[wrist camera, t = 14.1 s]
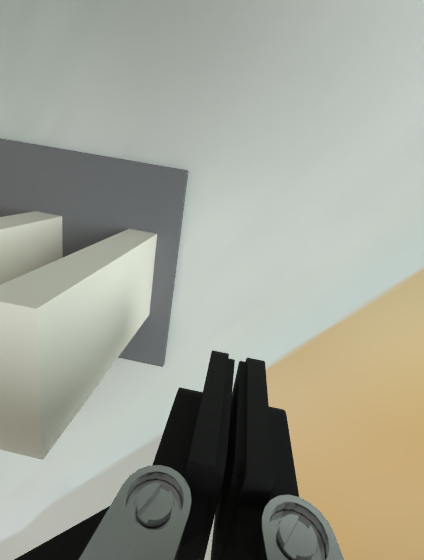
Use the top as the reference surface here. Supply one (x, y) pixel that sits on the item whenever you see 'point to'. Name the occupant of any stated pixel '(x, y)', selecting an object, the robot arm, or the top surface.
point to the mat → (103, 215)
